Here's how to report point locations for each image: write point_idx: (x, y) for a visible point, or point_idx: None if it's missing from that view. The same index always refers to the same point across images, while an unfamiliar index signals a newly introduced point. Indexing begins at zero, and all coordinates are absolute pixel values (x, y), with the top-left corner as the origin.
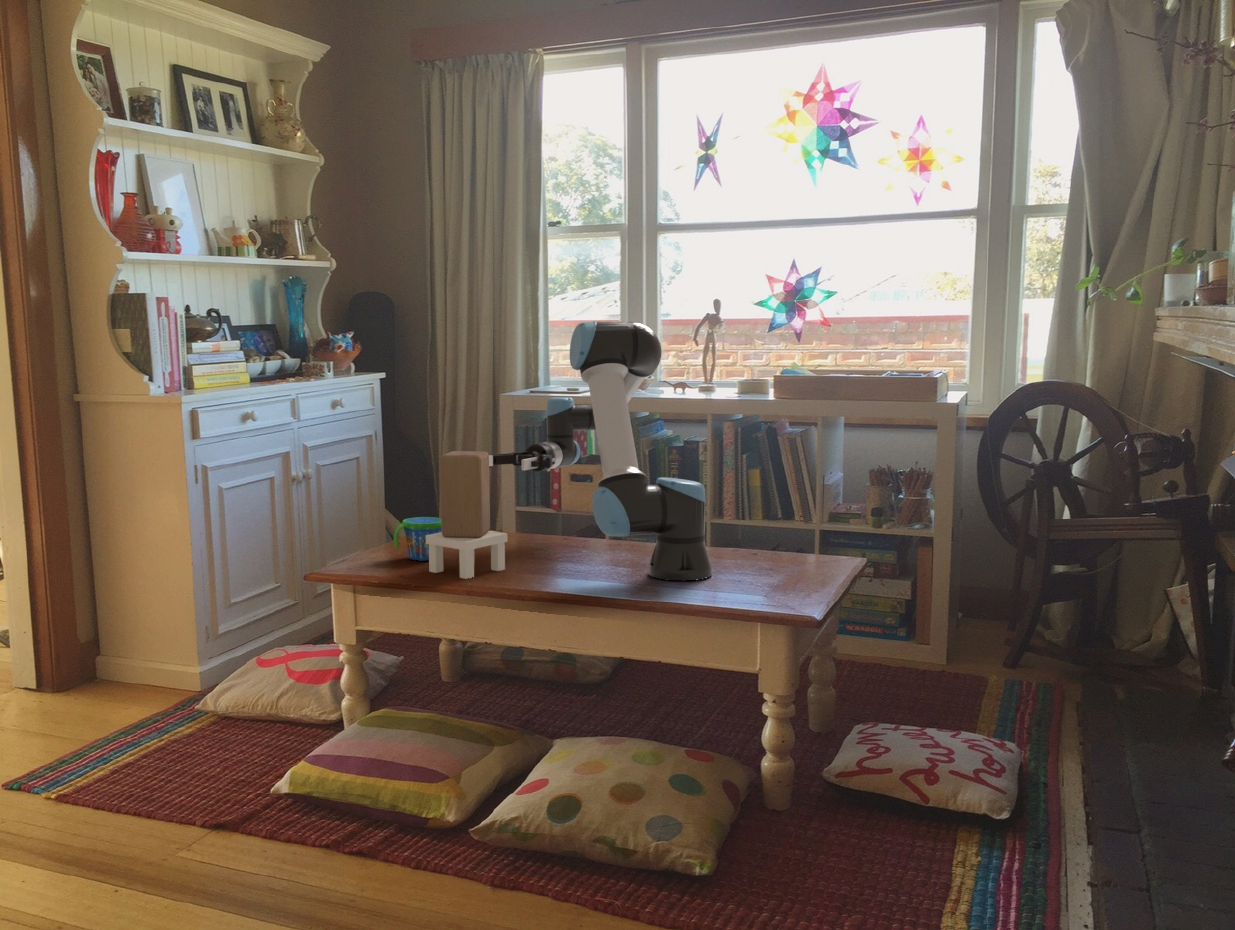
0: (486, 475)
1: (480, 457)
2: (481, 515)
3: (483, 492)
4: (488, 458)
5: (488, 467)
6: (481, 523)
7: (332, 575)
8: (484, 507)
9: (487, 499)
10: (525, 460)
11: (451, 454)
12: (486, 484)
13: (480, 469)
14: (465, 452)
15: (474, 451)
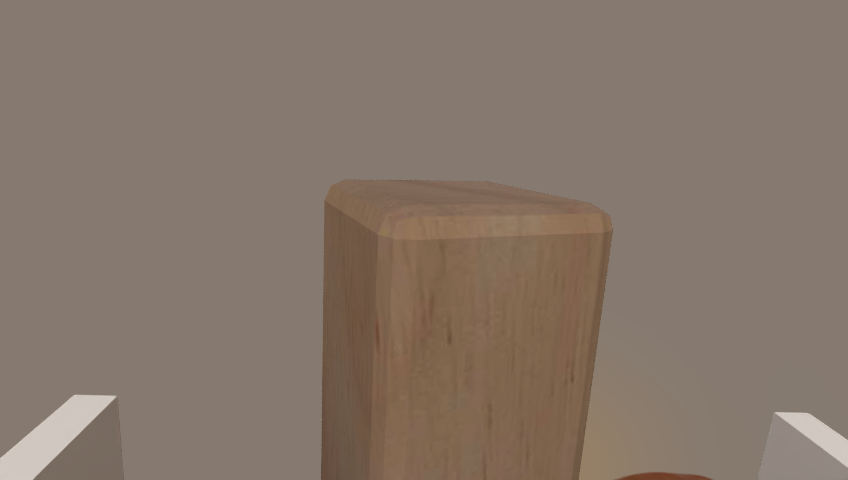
0: (351, 329)
1: (328, 192)
2: (322, 448)
3: (331, 375)
4: (372, 249)
5: (368, 308)
6: (321, 477)
7: (673, 475)
8: (333, 454)
9: (351, 468)
10: (51, 427)
11: (462, 181)
12: (349, 377)
13: (324, 247)
14: (470, 193)
15: (465, 202)
